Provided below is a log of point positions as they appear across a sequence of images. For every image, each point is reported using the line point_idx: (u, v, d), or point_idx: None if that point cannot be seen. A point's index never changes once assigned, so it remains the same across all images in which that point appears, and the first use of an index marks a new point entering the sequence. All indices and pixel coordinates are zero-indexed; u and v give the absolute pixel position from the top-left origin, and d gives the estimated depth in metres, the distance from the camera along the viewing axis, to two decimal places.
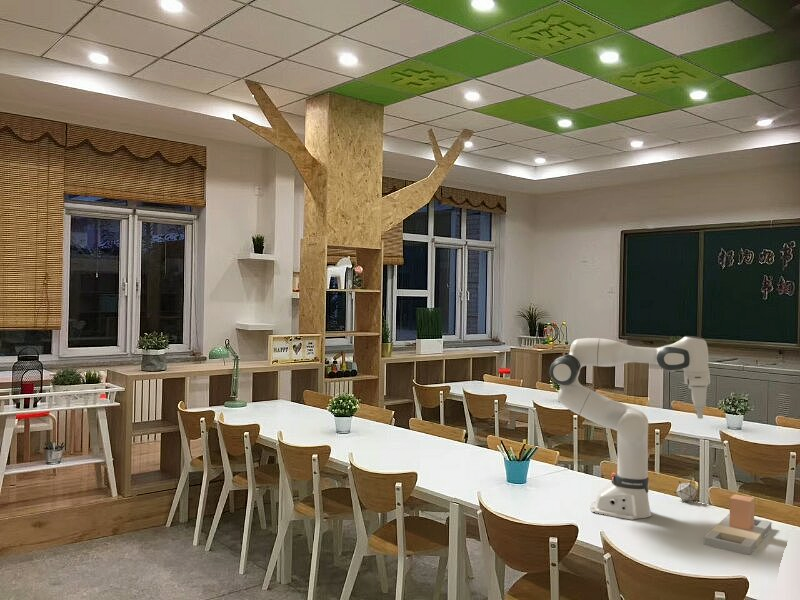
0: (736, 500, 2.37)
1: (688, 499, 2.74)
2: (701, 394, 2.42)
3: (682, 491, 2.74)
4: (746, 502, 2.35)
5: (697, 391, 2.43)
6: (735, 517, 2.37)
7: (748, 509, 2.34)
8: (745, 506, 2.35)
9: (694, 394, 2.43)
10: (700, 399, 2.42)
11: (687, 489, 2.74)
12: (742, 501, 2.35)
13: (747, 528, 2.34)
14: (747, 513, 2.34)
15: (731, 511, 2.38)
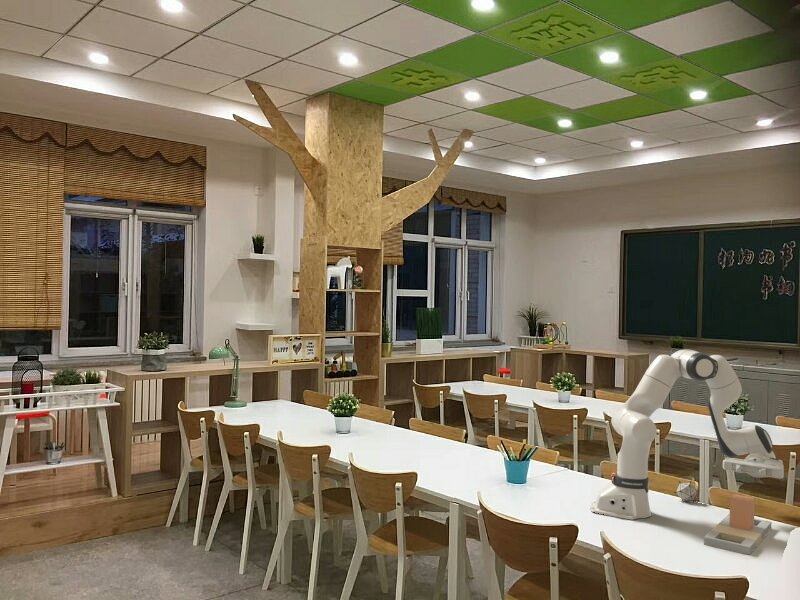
0: (736, 500, 2.37)
1: (688, 499, 2.74)
2: (783, 473, 2.46)
3: (682, 491, 2.74)
4: (746, 502, 2.35)
5: None
6: (735, 517, 2.37)
7: (748, 509, 2.34)
8: (745, 506, 2.35)
9: (783, 467, 2.46)
10: (783, 473, 2.45)
11: (687, 489, 2.74)
12: (742, 501, 2.35)
13: (747, 528, 2.34)
14: (747, 513, 2.34)
15: (731, 511, 2.38)
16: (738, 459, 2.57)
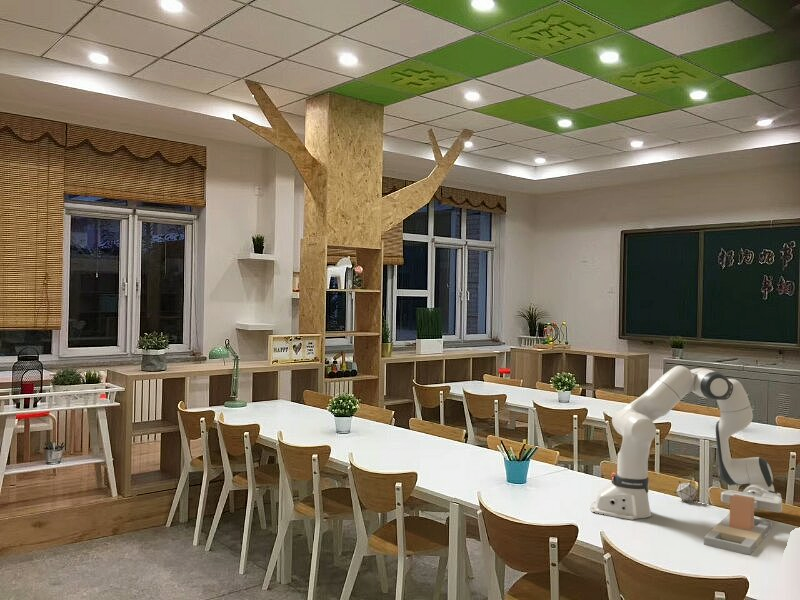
0: (736, 500, 2.37)
1: (688, 499, 2.74)
2: None
3: (682, 491, 2.74)
4: (746, 502, 2.35)
5: None
6: (735, 517, 2.37)
7: (748, 509, 2.34)
8: (745, 506, 2.35)
9: None
10: (781, 507, 2.44)
11: (687, 489, 2.74)
12: (742, 501, 2.35)
13: (747, 528, 2.34)
14: (747, 513, 2.34)
15: (731, 511, 2.38)
16: (736, 491, 2.56)
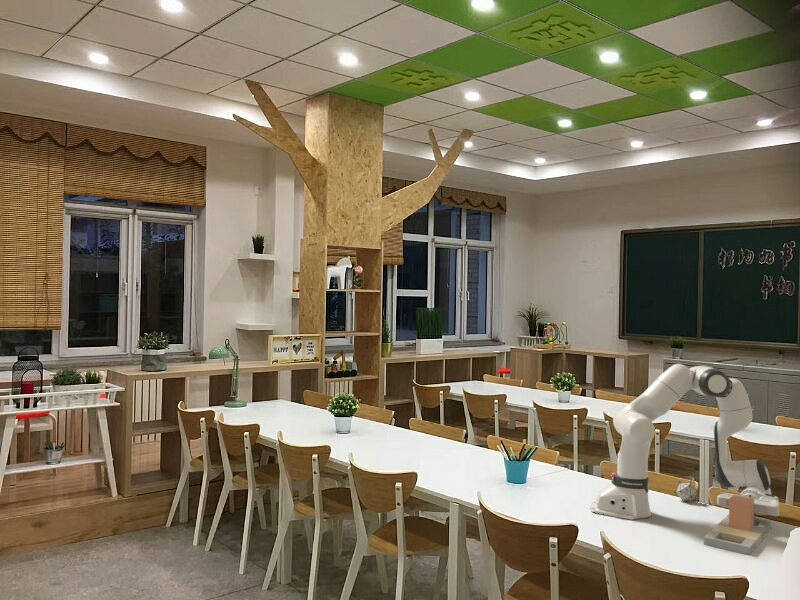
0: (736, 501, 2.36)
1: (688, 499, 2.74)
2: None
3: (682, 491, 2.74)
4: (746, 503, 2.34)
5: None
6: (734, 517, 2.36)
7: (748, 510, 2.33)
8: (745, 507, 2.34)
9: None
10: (778, 511, 2.40)
11: (687, 489, 2.74)
12: (742, 502, 2.35)
13: (747, 529, 2.34)
14: (747, 514, 2.34)
15: (730, 512, 2.37)
16: (733, 494, 2.52)
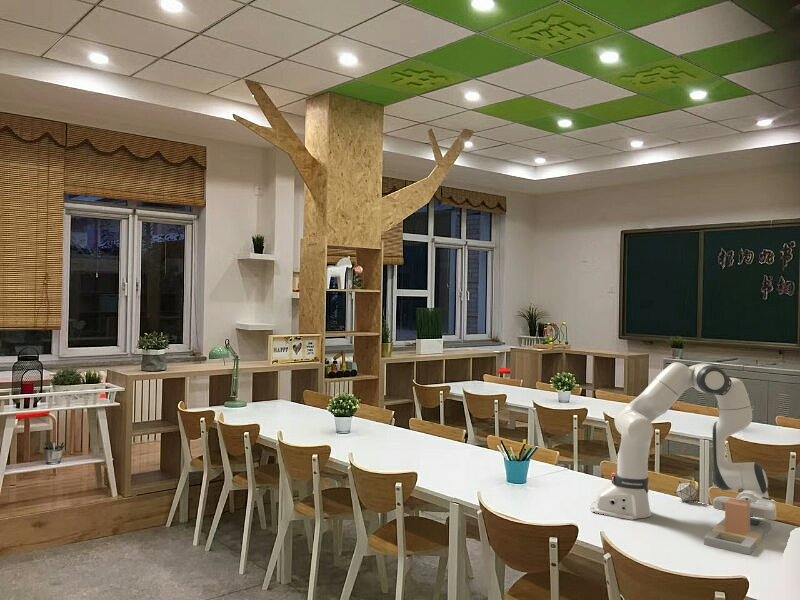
0: (732, 504, 2.31)
1: (688, 499, 2.74)
2: None
3: (682, 491, 2.74)
4: (742, 506, 2.29)
5: None
6: (730, 521, 2.32)
7: (744, 513, 2.29)
8: (741, 510, 2.30)
9: None
10: (775, 514, 2.35)
11: (687, 489, 2.74)
12: (738, 505, 2.30)
13: (743, 533, 2.29)
14: (743, 518, 2.29)
15: (726, 515, 2.32)
16: (729, 498, 2.48)
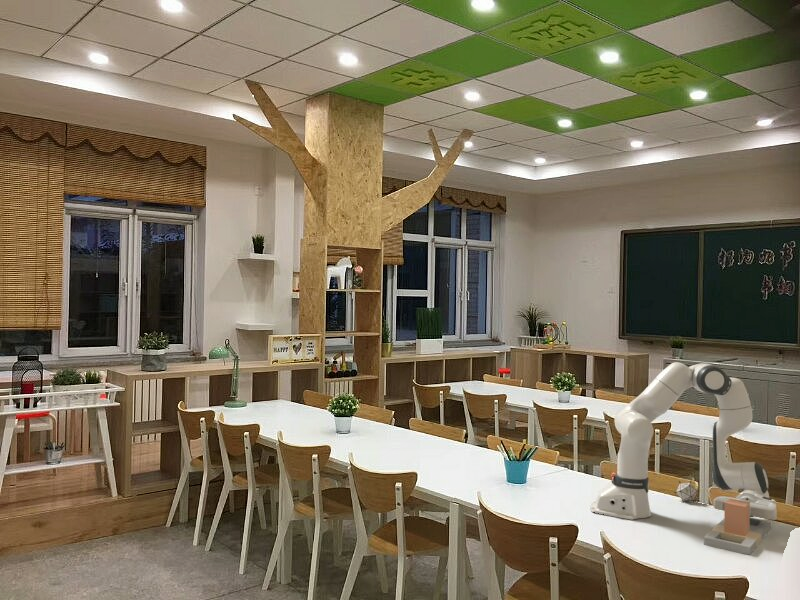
0: (731, 505, 2.31)
1: (688, 499, 2.74)
2: (776, 514, 2.37)
3: (682, 491, 2.74)
4: (741, 507, 2.29)
5: None
6: (729, 522, 2.31)
7: (743, 514, 2.28)
8: (740, 511, 2.29)
9: (776, 507, 2.37)
10: (776, 514, 2.35)
11: (687, 489, 2.74)
12: (737, 506, 2.30)
13: (742, 534, 2.28)
14: (742, 518, 2.29)
15: (726, 516, 2.32)
16: (729, 498, 2.47)
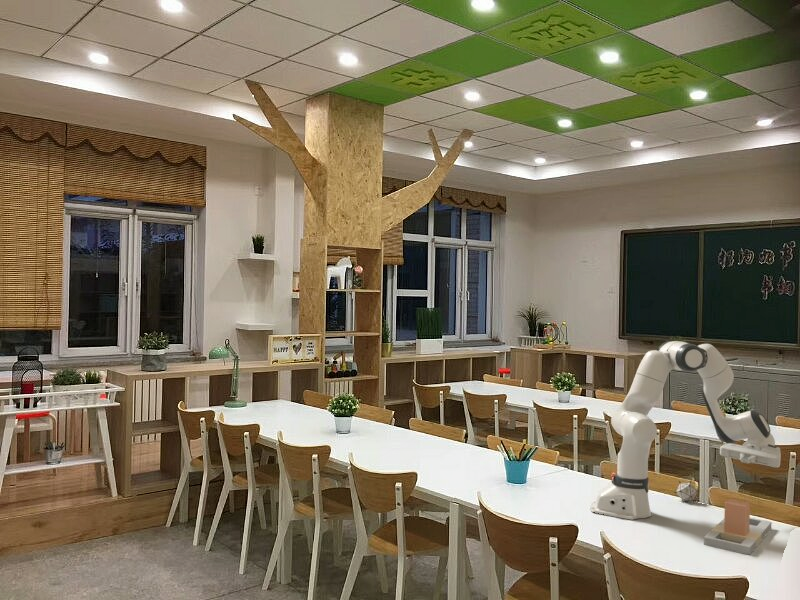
0: (731, 505, 2.31)
1: (688, 499, 2.74)
2: None
3: (682, 491, 2.74)
4: (741, 507, 2.29)
5: None
6: (729, 522, 2.31)
7: (743, 514, 2.28)
8: (740, 511, 2.29)
9: (780, 455, 2.46)
10: None
11: (687, 489, 2.74)
12: (737, 506, 2.30)
13: (742, 534, 2.28)
14: (742, 518, 2.29)
15: (726, 516, 2.32)
16: (736, 445, 2.57)
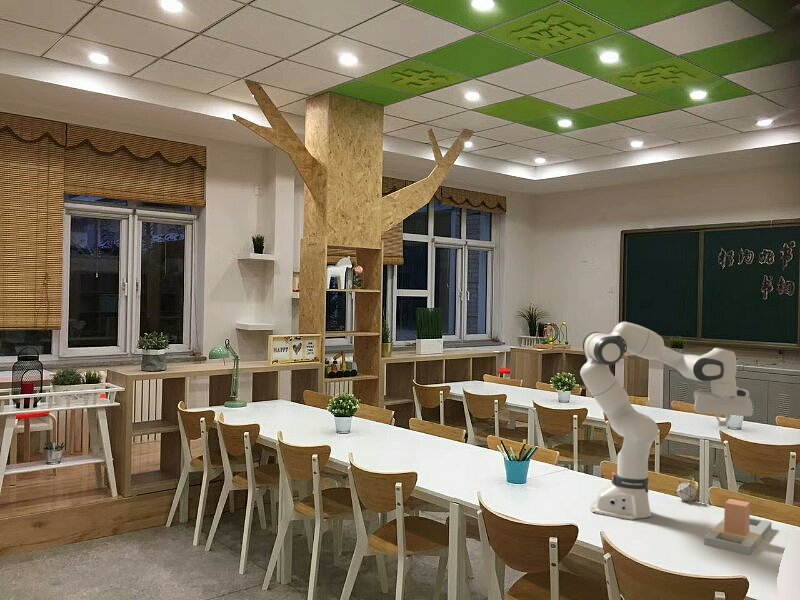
0: (731, 505, 2.31)
1: (688, 499, 2.74)
2: None
3: (682, 491, 2.74)
4: (741, 507, 2.29)
5: None
6: (729, 522, 2.31)
7: (743, 514, 2.28)
8: (740, 511, 2.29)
9: (751, 404, 2.54)
10: None
11: (687, 489, 2.74)
12: (737, 506, 2.30)
13: (742, 534, 2.28)
14: (742, 518, 2.29)
15: (726, 516, 2.32)
16: (707, 398, 2.60)
